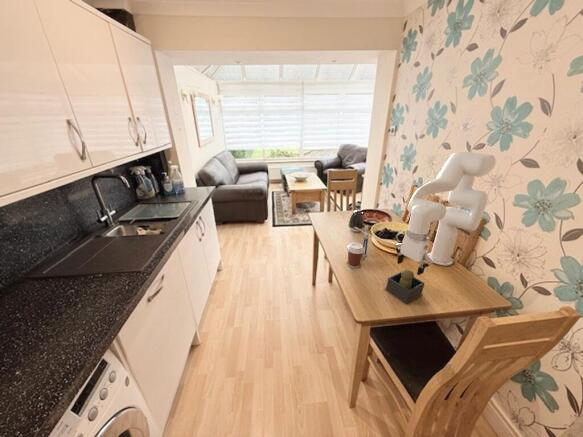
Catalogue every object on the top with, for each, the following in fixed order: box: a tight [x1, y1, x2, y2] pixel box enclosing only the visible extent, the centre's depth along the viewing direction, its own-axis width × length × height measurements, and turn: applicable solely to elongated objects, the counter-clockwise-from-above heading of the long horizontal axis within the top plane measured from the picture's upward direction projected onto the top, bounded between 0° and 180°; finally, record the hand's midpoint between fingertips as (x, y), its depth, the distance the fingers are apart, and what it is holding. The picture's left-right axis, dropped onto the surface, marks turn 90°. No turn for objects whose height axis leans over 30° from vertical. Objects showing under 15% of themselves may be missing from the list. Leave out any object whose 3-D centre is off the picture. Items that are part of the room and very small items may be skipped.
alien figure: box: [355, 225, 380, 259], centre depth 136 cm, size 20×5×19 cm, turn 30°
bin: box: [385, 270, 425, 305], centre depth 110 cm, size 11×11×7 cm
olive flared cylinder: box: [399, 268, 415, 290], centre depth 108 cm, size 6×6×11 cm
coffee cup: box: [346, 242, 365, 269], centre depth 129 cm, size 9×9×12 cm
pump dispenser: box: [348, 210, 366, 233], centre depth 167 cm, size 10×10×15 cm
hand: (409, 268), depth 106 cm, fingers open, 9 cm apart
